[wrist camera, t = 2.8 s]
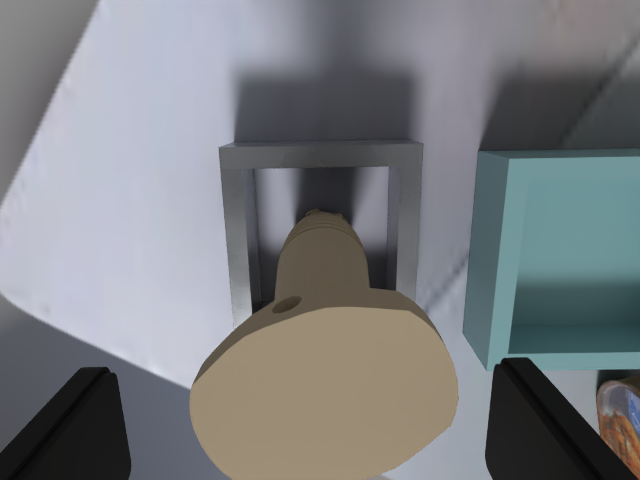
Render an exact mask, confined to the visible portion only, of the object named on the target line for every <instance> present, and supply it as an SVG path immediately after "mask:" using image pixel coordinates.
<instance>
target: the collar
mask: <svg viewBox="0 0 640 480" xmlns="http://www.w3.org/2000/svg"><path fill="white" fill-rule="evenodd" d="M422 158H423V143H419V142H416V141H413V140H410V139H381V140H326V141H272V142H233V143H230V144H227V145H224V146H221V147H219V159H220V170H221V182H222V194H223V206H224V218H225V230H226V242H227V253H228V265H229V277H230V289H231V301H232V313H233V325H234V330H235V329H236V328H237V327H238V326H239V325H240V324H242V323H243V322H244V321H245V320H247V319H248V318H249V317H250V316H251V315H253V314H254V313H256V312H258V311H259V310H261V309H263V308H264V307H266V306H267V305H268V304H270V303H271V302H262V294H261V278H260V262H259V245H258V229H257V213H256V197H255V181H254V169H266V168H322V167H378V166H389V186H388V222H387V258H386V290H391V291H399V292H400V293H402V294H403V295H405V296H406V297H408V298H409V299H411V300H412V301H413V302H415V299H416V279H417V259H418V239H419V219H420V198H421V178H422Z"/></svg>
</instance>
